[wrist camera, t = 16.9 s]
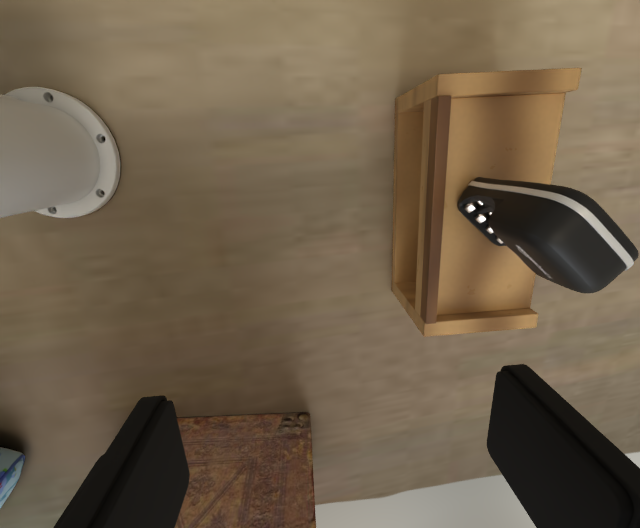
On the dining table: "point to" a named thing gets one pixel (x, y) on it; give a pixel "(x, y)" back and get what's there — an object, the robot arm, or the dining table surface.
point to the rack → (453, 178)
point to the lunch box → (9, 471)
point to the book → (248, 471)
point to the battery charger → (550, 231)
